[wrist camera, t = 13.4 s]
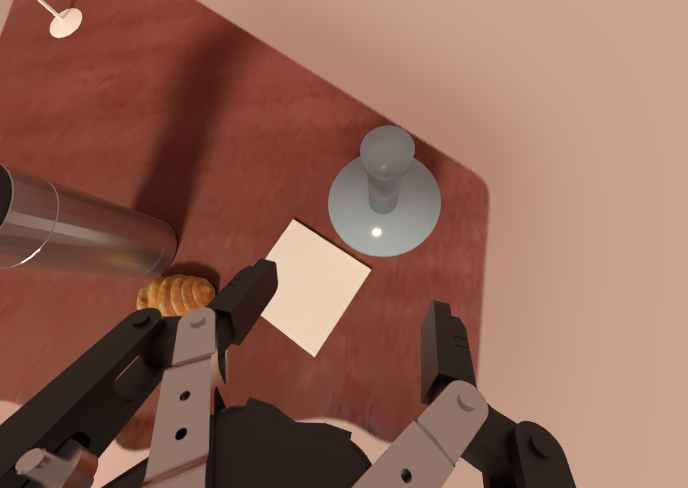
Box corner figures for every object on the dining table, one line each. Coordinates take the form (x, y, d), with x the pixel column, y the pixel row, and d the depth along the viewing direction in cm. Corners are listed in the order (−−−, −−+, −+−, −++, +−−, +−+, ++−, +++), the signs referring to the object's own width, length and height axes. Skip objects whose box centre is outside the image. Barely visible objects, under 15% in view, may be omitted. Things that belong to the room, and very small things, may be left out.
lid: (310, 221, 28) (271, 177, 18) (367, 140, 30) (362, 54, 19) (400, 279, 26) (417, 267, 15) (458, 187, 27) (511, 119, 17)
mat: (239, 297, 34) (238, 297, 33) (294, 220, 35) (293, 219, 35) (315, 356, 31) (314, 357, 31) (371, 270, 32) (371, 269, 32)
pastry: (217, 268, 35) (198, 265, 32) (220, 316, 34) (201, 319, 30) (157, 280, 36) (132, 279, 32) (157, 328, 35) (131, 332, 31)
